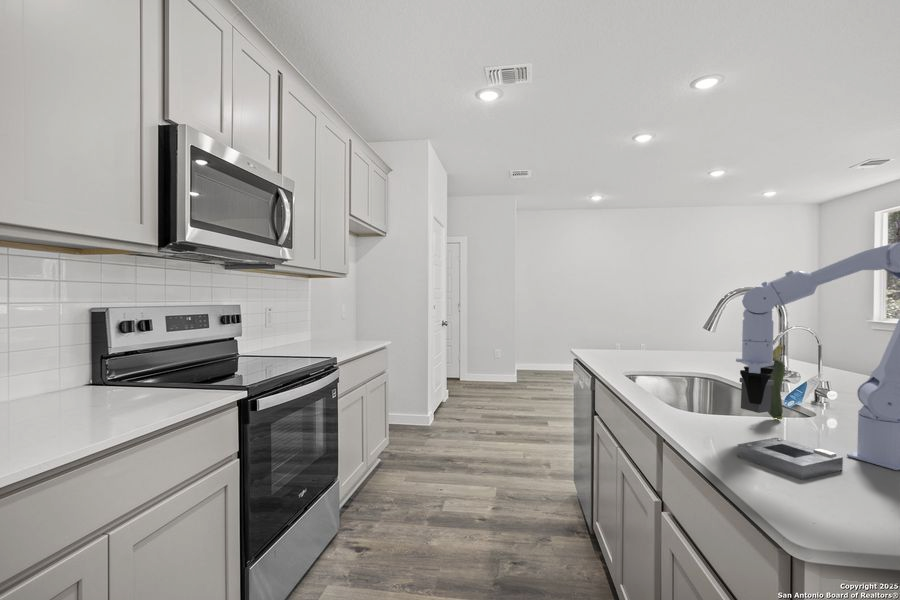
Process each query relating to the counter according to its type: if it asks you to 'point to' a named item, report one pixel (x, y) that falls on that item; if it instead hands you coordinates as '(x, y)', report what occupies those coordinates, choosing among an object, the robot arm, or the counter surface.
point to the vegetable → (777, 384)
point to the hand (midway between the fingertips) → (756, 400)
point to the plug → (757, 408)
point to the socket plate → (790, 457)
